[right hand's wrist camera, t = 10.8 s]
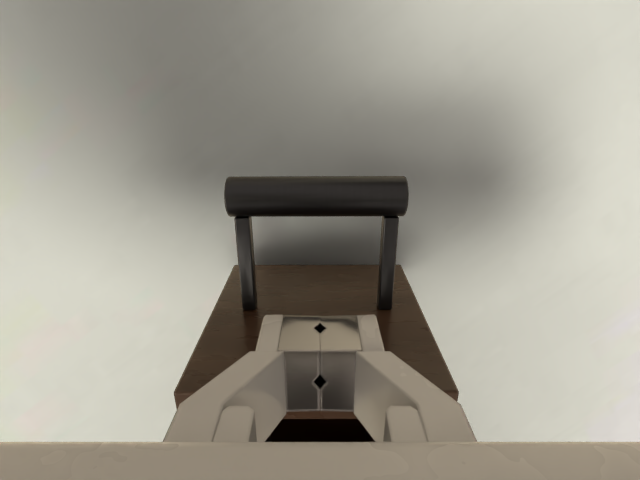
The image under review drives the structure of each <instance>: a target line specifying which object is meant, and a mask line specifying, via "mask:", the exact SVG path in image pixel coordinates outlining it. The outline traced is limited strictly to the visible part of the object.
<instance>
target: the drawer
mask: <svg viewBox="0 0 640 480" xmlns="http://www.w3.org/2000/svg"><path fill="white" fill-rule="evenodd" d="M224 199H225V207H226V211H227V214H228V215H229V216H236V217H235V230H236V241H237V253H238V264H239V265H235V266H234V268H233V270H232V272H231V274H230V276H229V278H228V280H227V282H226V284H225V286H224V289H223V291H222V293H221V295H220V297H219V299H218V301H217V303H216V305H215V307H214V309H213V312H212V314H211V316H210V318H209V320H208V322H207V324H206V326H205V328H204V330H203V332H202V335H201V337H200V339H199V341H198V343H197V345H196V347H195V349H194V351H193V353H192V356H191V358H190V360H189V362H188V364H187V366H186V368H185V370H184V372H183V374H182V376H181V379H180V381H179V383H178V385H177V387H176V389H175V391H174V396H175V402H176V407H177V409H178V407H179V405H180V403H182V402H183V401H184V400H186V399H187V398H188V397H190V396H191V395H192V394H194V393H195V392H196V391H198V390H199V389H200V388H202V387H203V386H204V385H206V384H207V383H208V382H210V381H211V380H212V379H214V378H215V377H216V376H218V375H219V374H220V373H222V372H223V371H224V370H226V369H227V368H228V367H230V366H231V365H232V364H234V363H235V362H236V361H238V360H239V359H240V358H242V357H243V356H244V355H246V354H247V353H248V352H250V351H255V350H256V346H257V342H258V338H259V334H260V330H261V326H262V322H263V318H264V316H265V315H318V316H345V315H372V314H374V315H375V316H376V318H377V322H378V326H379V330H380V334H381V338H382V342H383V346H384V350H385V351H390V352H392V353H393V354H394V355H396V356H397V357H398V358H400V359H401V360H402V361H404V362H405V363H406V364H408V365H409V366H410V367H412V368H413V369H414V370H416V371H417V372H418V373H420V374H421V375H422V376H424V377H425V378H426V379H427V380H429V381H430V382H431V383H433V384H434V385H435V386H437V387H438V388H439V389H441V390H442V391H443V392H445V393H446V394H447V395H449V396H450V397H451V398H453V399H454V400H455V401H457V399H458V393H459V392H458V389H457V387H456V385H455V383H454V380H453V378H452V376H451V374H450V372H449V370H448V367H447V365H446V363H445V361H444V359H443V356H442V354H441V352H440V350H439V348H438V346H437V343H436V341H435V339H434V337H433V335H432V332H431V330H430V328H429V326H428V324H427V322H426V319H425V317H424V315H423V313H422V311H421V308H420V306H419V304H418V302H417V300H416V298H415V295H414V293H413V291H412V289H411V287H410V284H409V282H408V280H407V278H406V276H405V274H404V271H403V269H402V267H401V265H395V261H396V248H397V235H398V222H399V218H398V216H404V215H405V214H406V211H407V207H408V183H407V179H406V177H404V176H289V177H228V178H227V180H226V183H225V190H224ZM251 216H382V226H381V242H380V259H379V265H255V260H254V246H253V232H252V218H251ZM265 442H375V441H374V439H373V438H372V437H371V435H370V434H369V433H368V431H367V430H366V429H365V428H364V426H363V425H362V424H361V422H360V421H359V420H358V418H357V417H356V416H355V414H354V412H341V411H299V412H286V415H285V416H284V417H283V419H282V420H281V421H280V423H279V424H278V425H277V427H276V428H275V429H274V430H273V432H272V433H271V434H270V436H269V437H268V438H267V440H266V441H265Z"/></svg>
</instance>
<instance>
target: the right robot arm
mask: <svg viewBox="0 0 640 480" xmlns="http://www.w3.org/2000/svg"><path fill="white" fill-rule="evenodd" d="M299 411H341V412H354V414H355V416H356V417H357V418H358V420H359V421H360V422H361V424H362V425H363V426H364V428H365V429H366V430H367V431H368V433H369V434H370V435H371V437H372V438H373V439H374V441H375V442H265V441H266V440H267V438H268V437H269V436H270V434H271V433H272V432H273V430H274V429H275V428H276V427H277V425H278V424H279V423H280V421H281V420H282V419H283V417H284V416H285V415H286V412H299ZM0 480H640V442H477V440H476V438H475V436H474V433H473V431H472V429H471V427H470V424H469V422H468V420H467V418H466V415H465V413H464V411H463V409H462V406H461V404H459V403H458V402H457V401H455V400H454V399H453V398H451V397H450V396H449V395H447V394H446V393H445V392H443V391H442V390H441V389H439V388H438V387H437V386H435V385H434V384H433V383H431V382H430V381H429V380H427V379H426V378H425V377H424V376H422V375H421V374H420V373H418V372H417V371H416V370H414V369H413V368H412V367H410V366H409V365H408V364H406V363H405V362H404V361H402V360H401V359H400V358H398V357H397V356H396V355H394V354H393V353H392V352H390V351H385V350H384V346H383V342H382V338H381V334H380V330H379V326H378V322H377V318H376V316H375V315H374V314H372V315H345V316H318V315H265V316H264V318H263V322H262V326H261V330H260V334H259V338H258V342H257V346H256V350H255V351H250V352H248V353H247V354H246V355H244V356H243V357H242V358H240V359H239V360H238V361H236V362H235V363H234V364H232V365H231V366H230V367H228V368H227V369H226V370H224V371H223V372H222V373H220V374H219V375H218V376H216V377H215V378H214V379H212V380H211V381H210V382H208V383H207V384H206V385H204V386H203V387H202V388H200V389H199V390H198V391H196V392H195V393H194V394H192V395H191V396H190V397H188V398H187V399H186V400H184V401H183V402H182V403H180V405H179V407H178V409H177V411H176V413H175V416H174V418H173V420H172V422H171V425H170V427H169V429H168V431H167V433H166V436H165V438H164V440H163V442H0Z"/></svg>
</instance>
